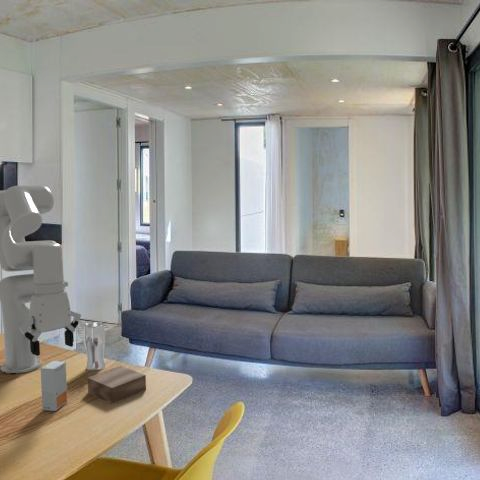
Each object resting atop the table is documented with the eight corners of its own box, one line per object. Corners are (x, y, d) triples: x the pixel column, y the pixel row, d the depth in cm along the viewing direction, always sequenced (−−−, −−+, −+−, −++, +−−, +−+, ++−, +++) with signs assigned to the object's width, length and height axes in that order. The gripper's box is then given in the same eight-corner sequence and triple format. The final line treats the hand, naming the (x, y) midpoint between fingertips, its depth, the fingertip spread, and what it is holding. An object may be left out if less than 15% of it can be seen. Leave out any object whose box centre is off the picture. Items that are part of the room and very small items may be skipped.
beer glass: (94, 372, 159) (93, 328, 158) (80, 368, 163) (78, 325, 161) (110, 366, 165) (109, 323, 164) (96, 362, 169) (94, 320, 167)
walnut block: (88, 393, 144) (87, 377, 143) (121, 381, 153) (120, 366, 152) (112, 405, 136) (112, 387, 136) (146, 391, 145) (145, 375, 145)
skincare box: (56, 411, 132) (53, 369, 130) (42, 410, 132) (39, 368, 131) (68, 402, 137) (66, 361, 136) (54, 400, 138) (52, 360, 137)
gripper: (71, 282, 140) (74, 340, 142) (11, 292, 127) (15, 355, 129) (85, 285, 135) (88, 344, 137) (24, 295, 122) (28, 361, 124)
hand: (53, 350), depth 133 cm, fingers open, 9 cm apart
